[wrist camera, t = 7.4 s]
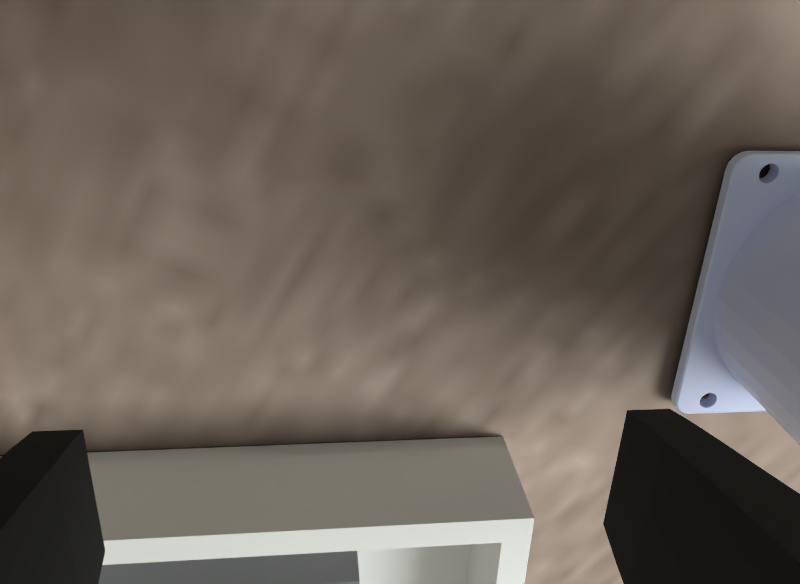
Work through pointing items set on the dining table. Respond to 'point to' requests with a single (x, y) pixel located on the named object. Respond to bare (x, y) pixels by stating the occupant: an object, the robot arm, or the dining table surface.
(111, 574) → the inlet socket
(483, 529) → the walled box
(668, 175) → the dining table surface
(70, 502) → the robot arm
